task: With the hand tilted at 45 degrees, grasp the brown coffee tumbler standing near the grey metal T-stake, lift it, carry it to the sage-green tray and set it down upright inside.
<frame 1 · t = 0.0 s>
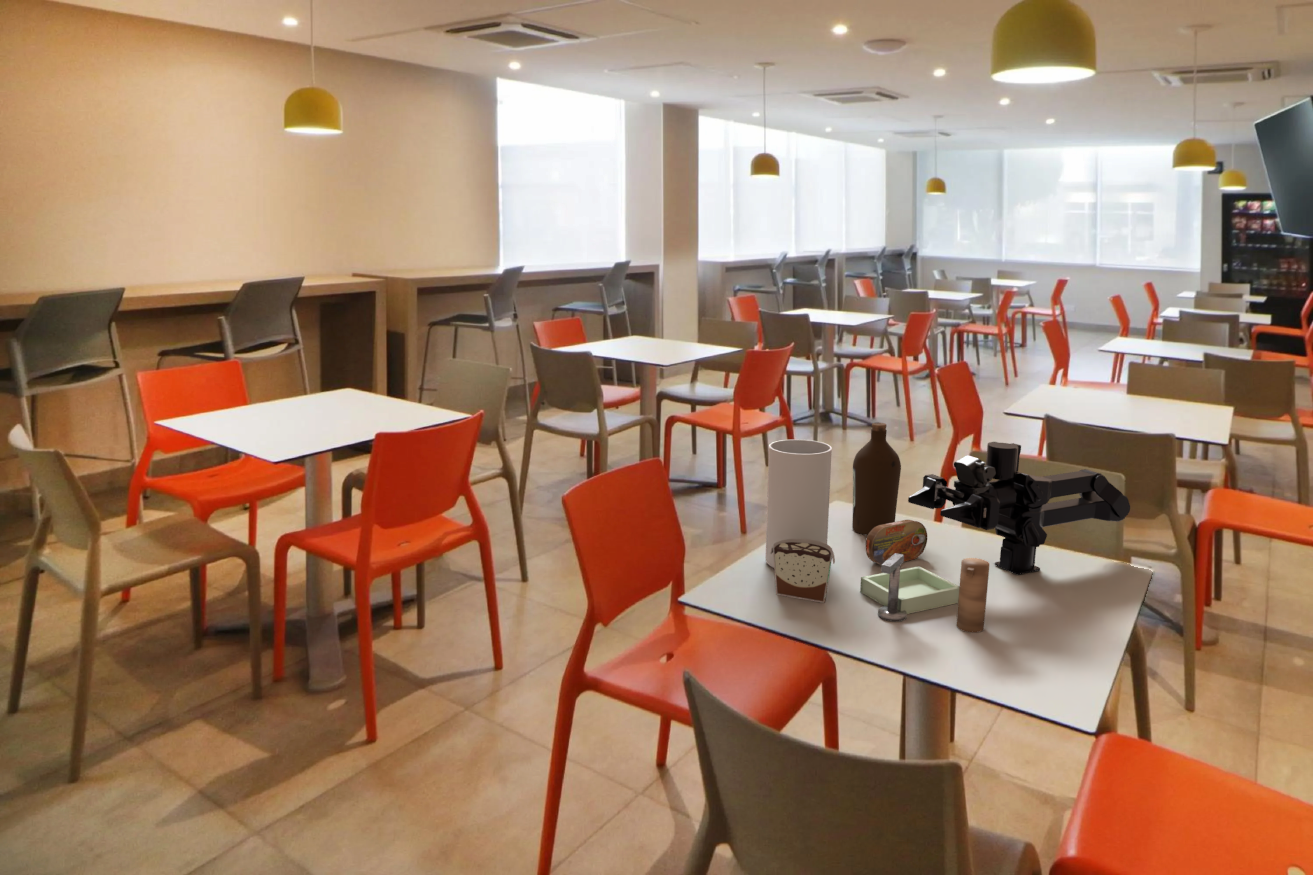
hand: (924, 506, 180), 17 cm above the table, tool horizontal, fingers open, 9 cm apart
food container: (804, 593, 181), on the table
tin: (894, 561, 199), on the table
cylinder vase: (795, 564, 197), on the table
olive oil: (872, 530, 218), on the table
t stake: (892, 615, 171), on the table
tray: (909, 597, 179), on the table
brown coffee tumbler: (970, 626, 167), on the table
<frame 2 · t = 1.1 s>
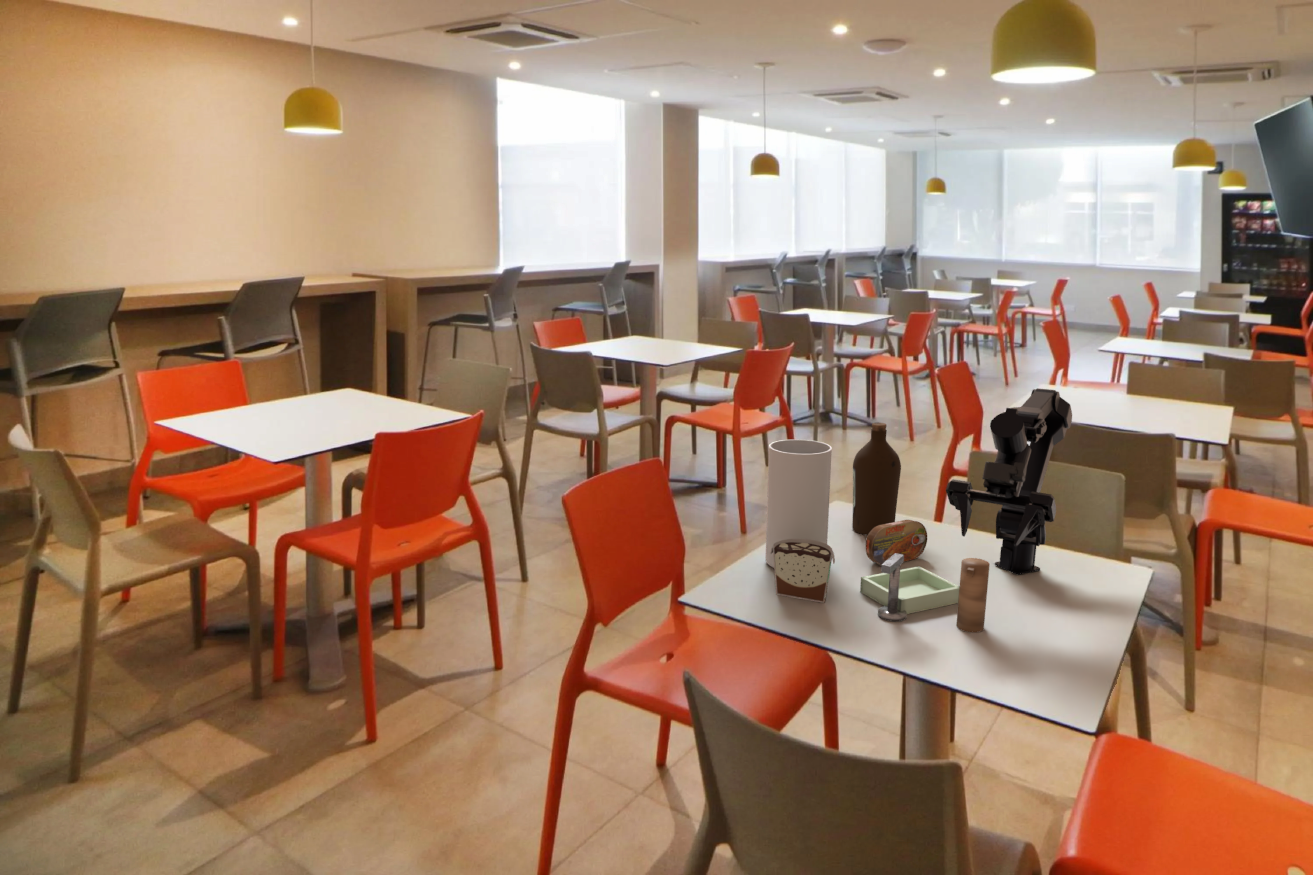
hand: (988, 540, 170), 14 cm above the table, tool tilted 45°, fingers open, 9 cm apart
nothing on the table moved.
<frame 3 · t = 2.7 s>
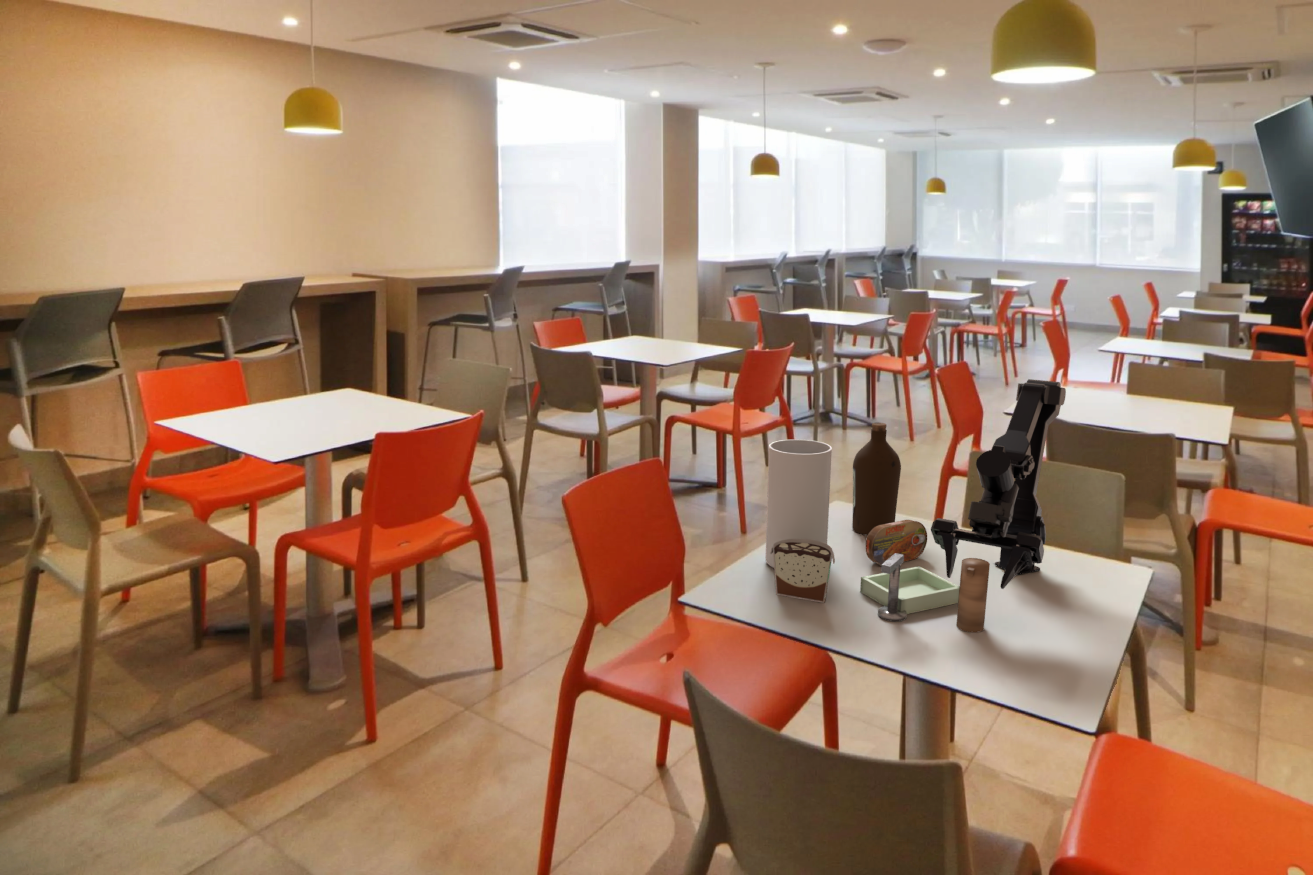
hand: (974, 582, 165), 8 cm above the table, tool tilted 45°, fingers open, 9 cm apart
nothing on the table moved.
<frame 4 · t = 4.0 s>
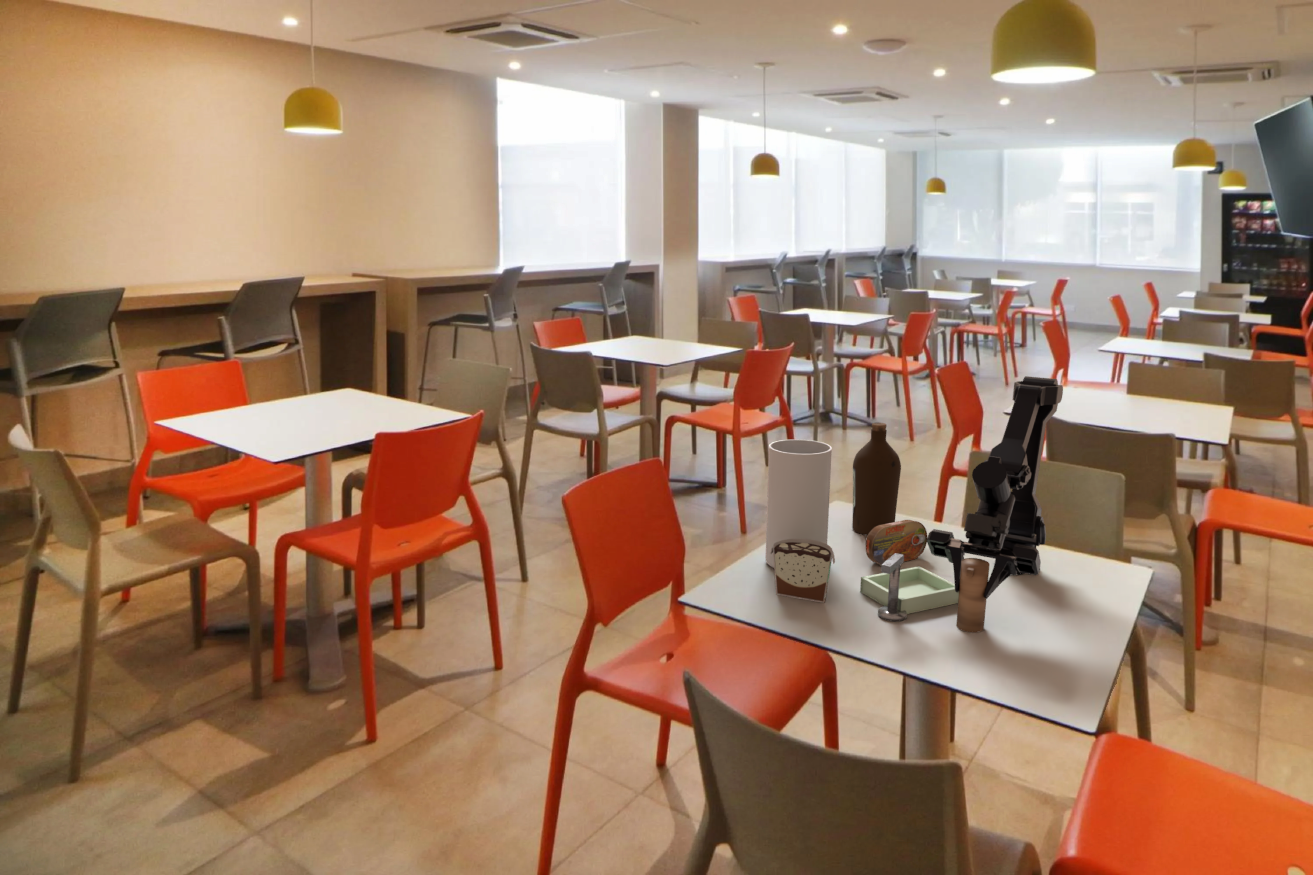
hand: (970, 594, 164), 7 cm above the table, tool tilted 45°, fingers closed on brown coffee tumbler, 5 cm apart
brown coffee tumbler: (969, 626, 167), on the table, touching gripper
everything else where it was.
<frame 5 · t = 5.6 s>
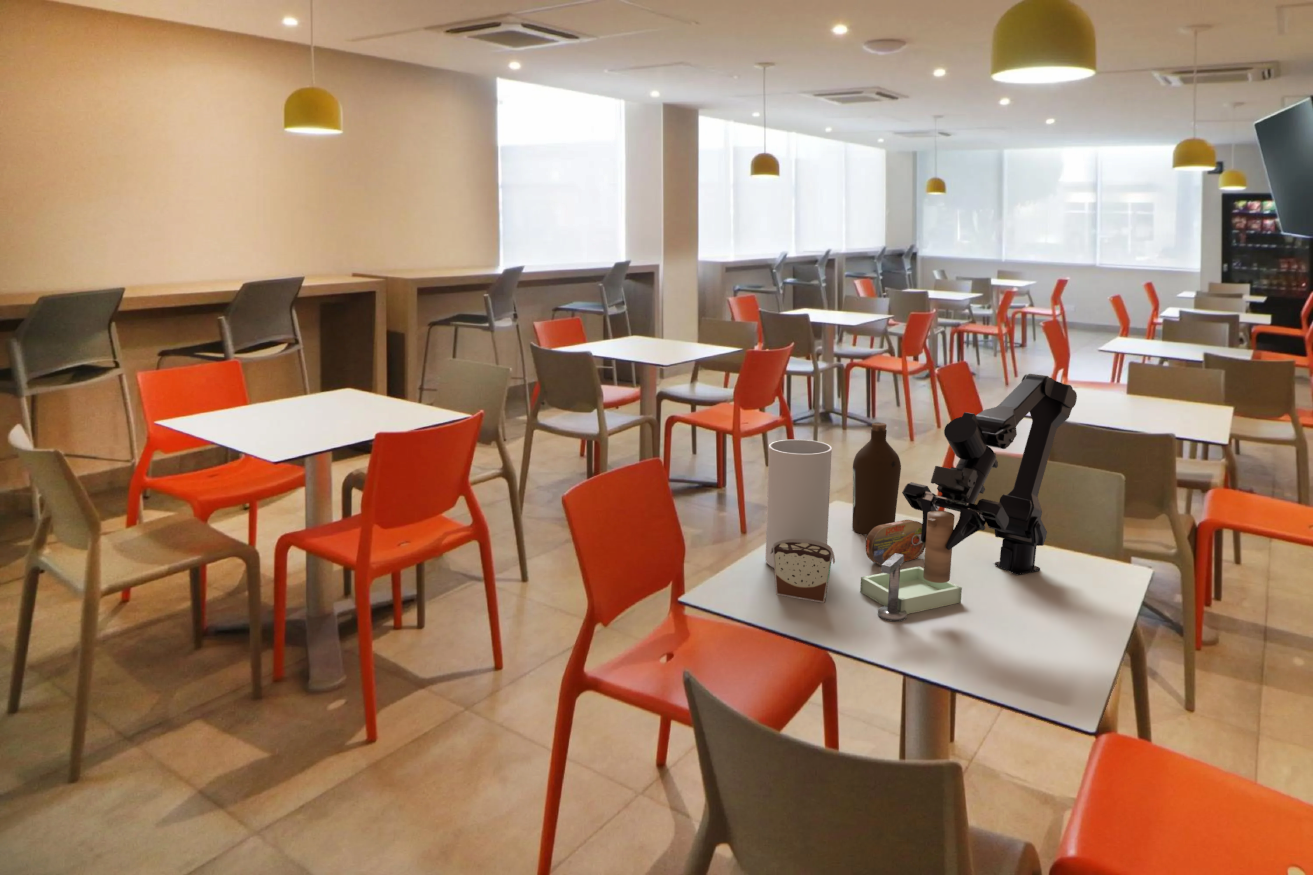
hand: (934, 545, 168), 13 cm above the table, tool tilted 45°, fingers closed on brown coffee tumbler, 5 cm apart
brown coffee tumbler: (936, 577, 171), point 7 cm above the table, touching gripper
everything else where it was.
when the fingers open (8 cm above the table, at t = 7.6 s): brown coffee tumbler drops 1 cm, resting on tray.
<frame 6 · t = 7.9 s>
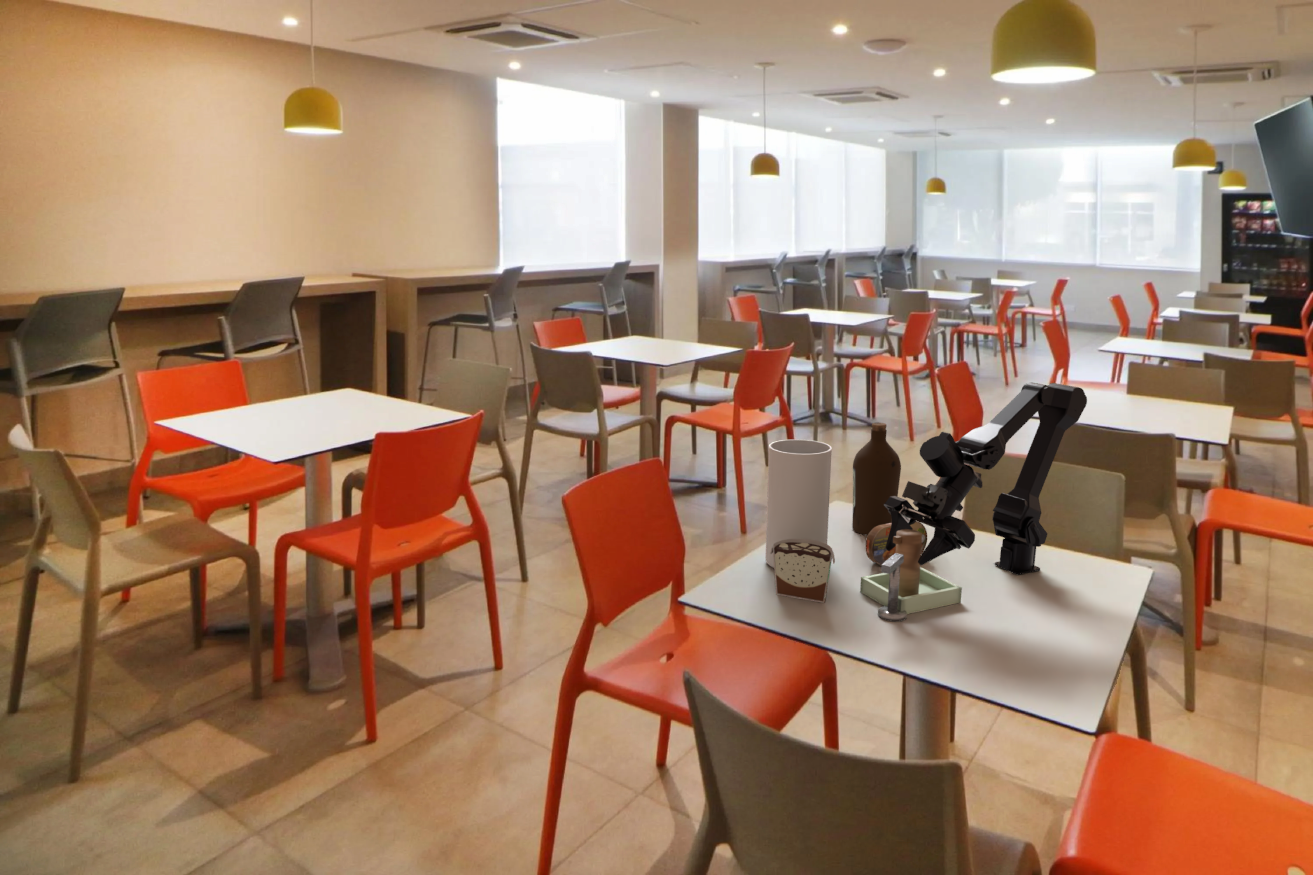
hand: (902, 556, 176), 9 cm above the table, tool tilted 45°, fingers open, 8 cm apart
brown coffee tumbler: (905, 593, 179), point 1 cm above the table, touching tray
everything else where it was.
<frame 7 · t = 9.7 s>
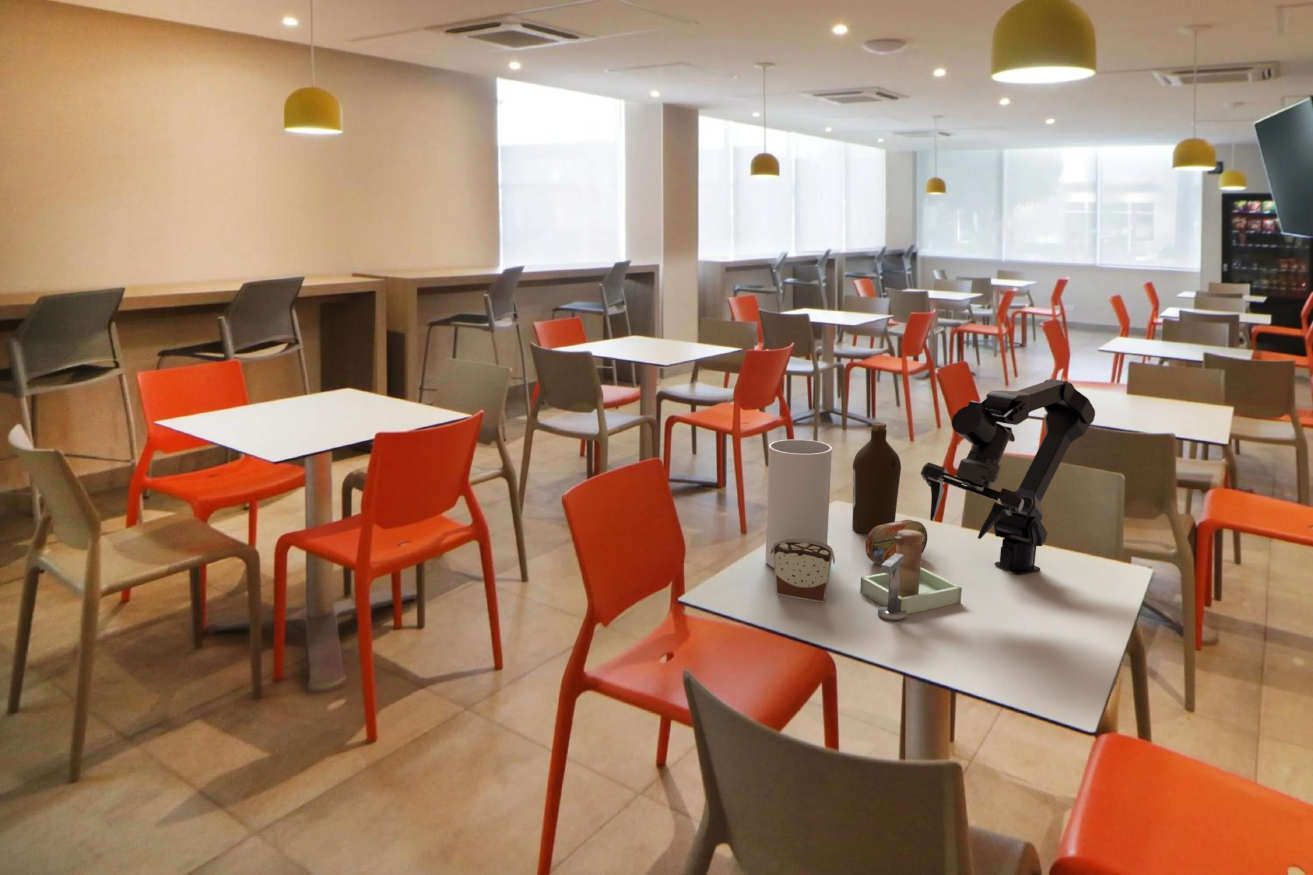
hand: (954, 529, 178), 13 cm above the table, tool tilted 30°, fingers open, 9 cm apart
nothing on the table moved.
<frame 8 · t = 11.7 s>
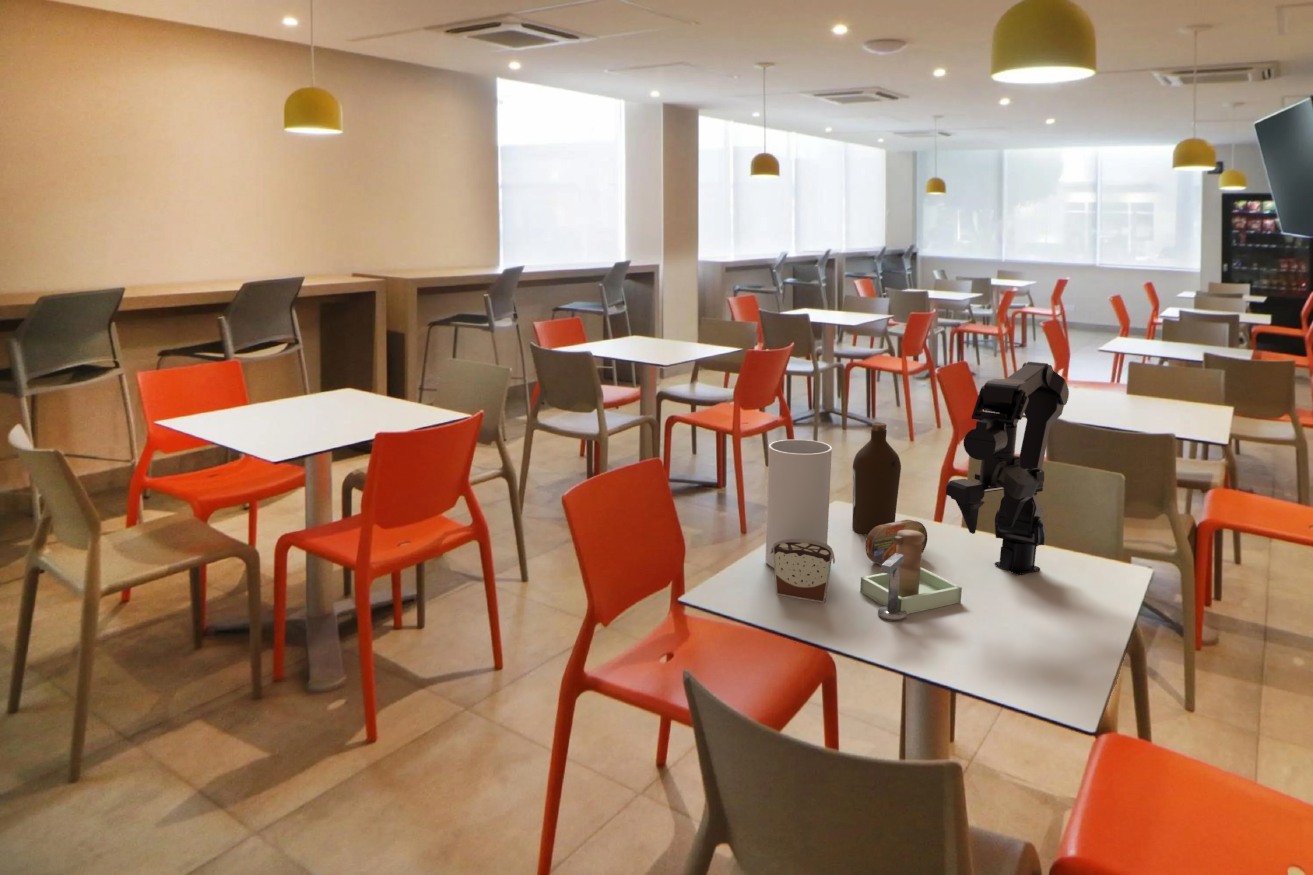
hand: (991, 529, 178), 13 cm above the table, tool pointing down, fingers open, 9 cm apart
nothing on the table moved.
at the end: brown coffee tumbler inside the target area on the tray (1.0 cm from its centre), point 0.8 cm above the tray's base; brown coffee tumbler tilted 0°; the gripper is holding nothing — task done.
